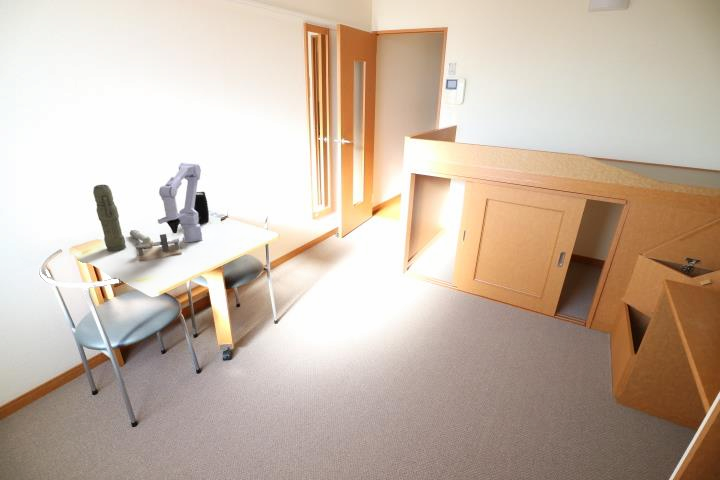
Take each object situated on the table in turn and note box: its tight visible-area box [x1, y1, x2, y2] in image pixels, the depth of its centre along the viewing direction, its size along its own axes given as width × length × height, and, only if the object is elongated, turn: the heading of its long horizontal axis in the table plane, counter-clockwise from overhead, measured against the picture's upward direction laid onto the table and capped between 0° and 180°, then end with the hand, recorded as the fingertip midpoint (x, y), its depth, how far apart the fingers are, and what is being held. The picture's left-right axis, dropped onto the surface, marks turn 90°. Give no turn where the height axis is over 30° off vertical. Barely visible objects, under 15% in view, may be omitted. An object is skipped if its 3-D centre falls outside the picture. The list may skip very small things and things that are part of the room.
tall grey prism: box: [159, 233, 169, 252], centre depth 193 cm, size 3×7×7 cm, turn 30°
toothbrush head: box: [129, 229, 154, 249], centre depth 205 cm, size 5×7×25 cm
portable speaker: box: [194, 191, 210, 224], centre depth 234 cm, size 9×9×20 cm
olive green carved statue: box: [93, 184, 127, 253], centre depth 190 cm, size 9×12×35 cm
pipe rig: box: [135, 238, 183, 262], centre depth 193 cm, size 20×12×7 cm, turn 120°
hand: (175, 232), depth 194 cm, fingers closed
